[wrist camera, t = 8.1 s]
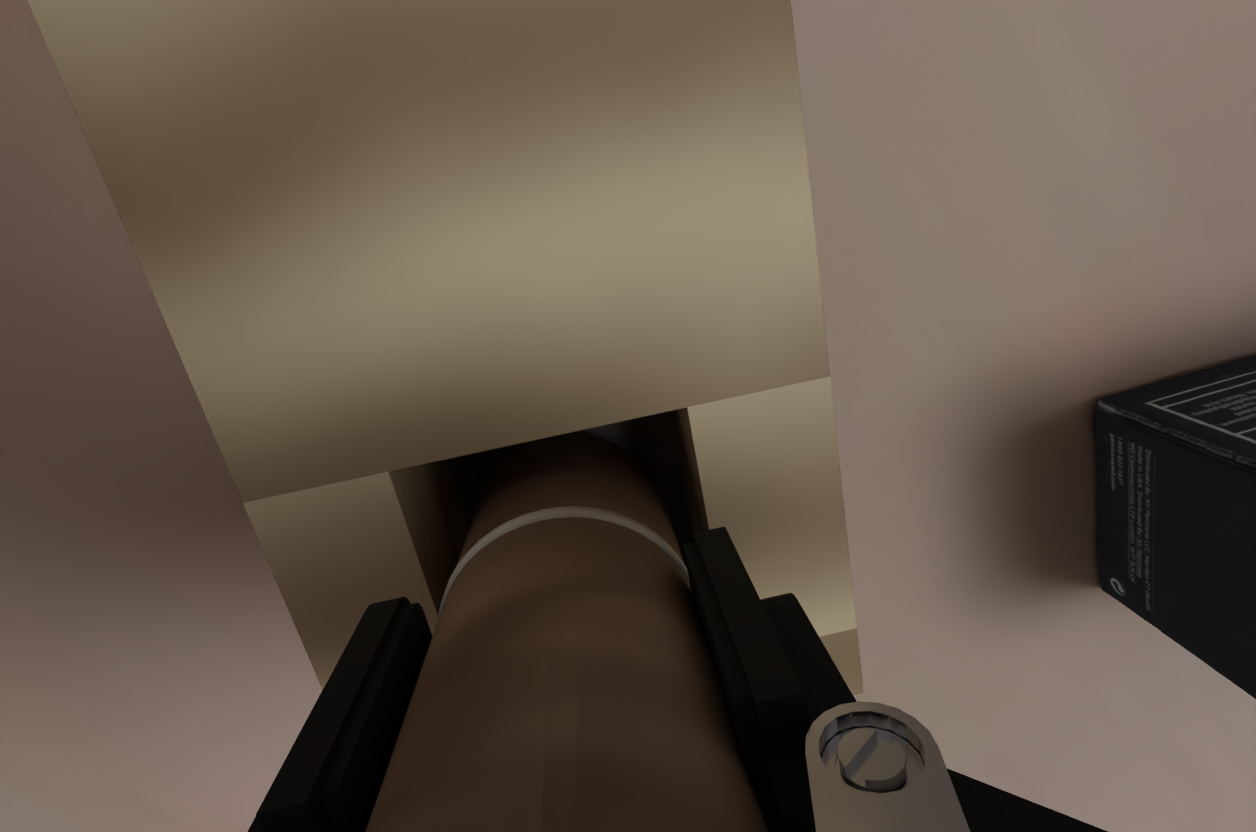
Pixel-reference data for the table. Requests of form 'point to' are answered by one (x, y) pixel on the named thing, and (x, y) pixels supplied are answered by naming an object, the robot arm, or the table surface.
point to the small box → (1184, 511)
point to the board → (476, 269)
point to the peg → (568, 668)
